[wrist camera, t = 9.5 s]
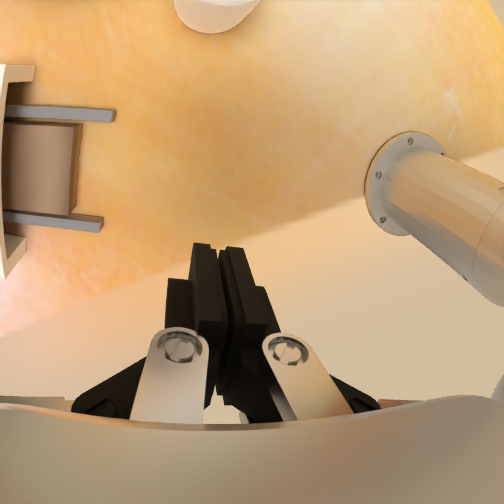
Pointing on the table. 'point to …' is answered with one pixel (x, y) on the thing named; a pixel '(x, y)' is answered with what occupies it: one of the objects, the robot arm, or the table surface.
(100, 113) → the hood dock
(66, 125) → the walnut tile
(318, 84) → the table surface
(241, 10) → the can
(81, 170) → the table surface
